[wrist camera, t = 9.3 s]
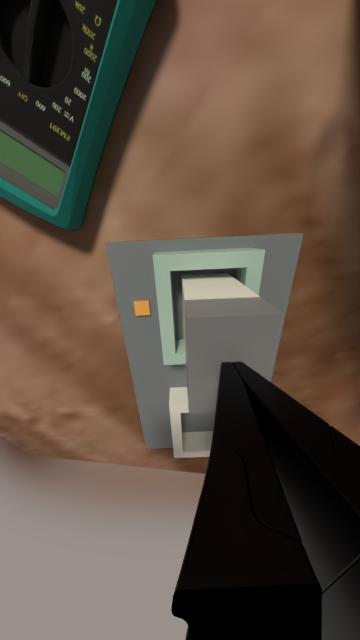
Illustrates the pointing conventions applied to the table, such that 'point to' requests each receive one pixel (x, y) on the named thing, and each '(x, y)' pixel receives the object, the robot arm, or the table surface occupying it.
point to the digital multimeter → (61, 97)
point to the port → (165, 262)
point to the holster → (186, 441)
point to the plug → (224, 333)
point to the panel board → (181, 316)
